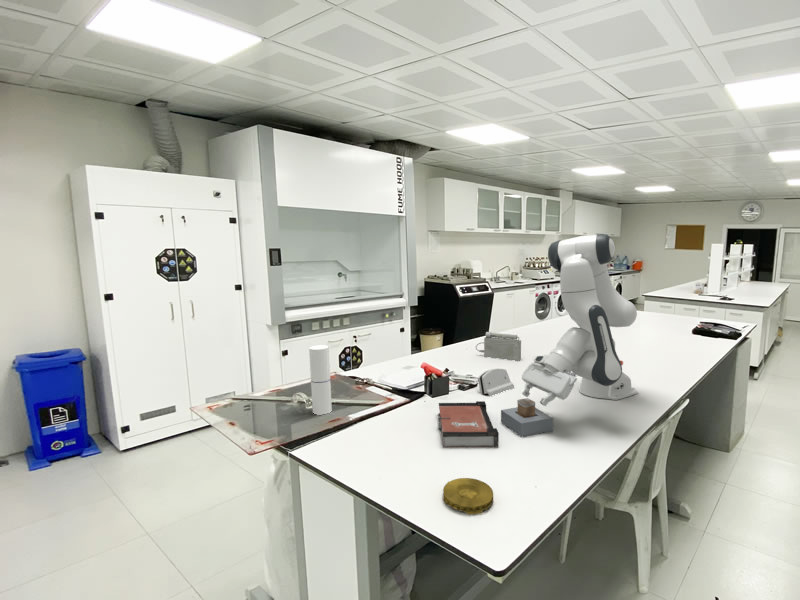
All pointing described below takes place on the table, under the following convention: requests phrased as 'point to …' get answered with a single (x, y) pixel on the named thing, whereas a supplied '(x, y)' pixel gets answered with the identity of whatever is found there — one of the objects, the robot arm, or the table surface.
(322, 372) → the cylindrical container
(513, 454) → the table surface
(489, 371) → the hinge
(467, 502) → the gold round disc
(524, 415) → the peg
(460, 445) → the book
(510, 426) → the socket block
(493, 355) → the geiger counter
